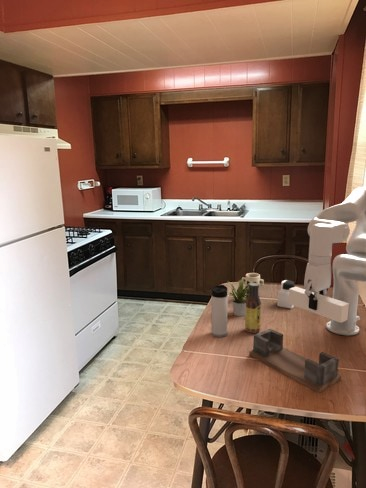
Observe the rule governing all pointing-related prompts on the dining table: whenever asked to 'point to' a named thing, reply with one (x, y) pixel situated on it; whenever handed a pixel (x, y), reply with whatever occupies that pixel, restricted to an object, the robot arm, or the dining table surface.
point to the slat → (320, 305)
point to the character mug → (254, 278)
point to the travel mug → (219, 311)
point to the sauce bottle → (253, 309)
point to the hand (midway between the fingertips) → (316, 306)
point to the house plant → (239, 298)
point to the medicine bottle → (285, 294)
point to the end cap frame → (295, 362)
